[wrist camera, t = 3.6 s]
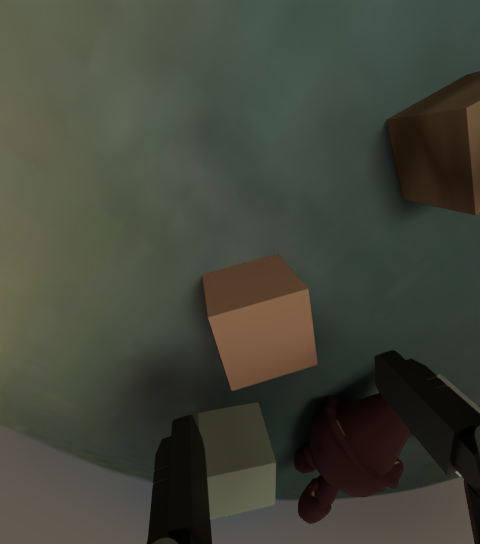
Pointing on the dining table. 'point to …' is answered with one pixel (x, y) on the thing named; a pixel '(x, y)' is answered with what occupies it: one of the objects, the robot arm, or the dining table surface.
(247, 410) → the sage cube
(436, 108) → the walnut cube
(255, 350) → the terracotta cube
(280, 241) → the dining table surface
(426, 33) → the dining table surface
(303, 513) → the icecream
